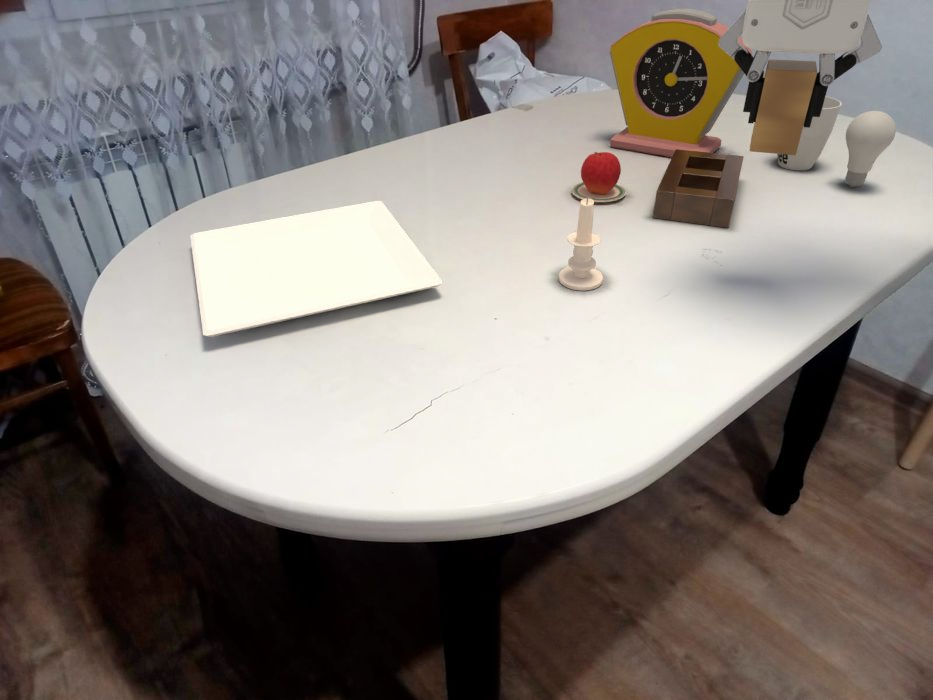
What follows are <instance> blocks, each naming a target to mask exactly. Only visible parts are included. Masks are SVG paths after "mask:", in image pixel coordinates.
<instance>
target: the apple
mask: <svg viewBox="0 0 933 700" xmlns="http://www.w3.org/2000/svg"><path fill="white" fill-rule="evenodd" d="M621 173H622V167H621V163H620V160H619V157H617V156H616V155H615V154H614V153H612V152H608V151H603V152H597V151H594V152H593V153H590V154H589V155H588V156H586V158H585V159H584V161H583V163H582V165H581V168H580V178H581V180H582V182H579V183H576V184H575V185H573V186H572V187H571V193H572V195H573V196H574V197H576V198H578V199H580V200H583V199H586V198H587V197H588V198H590V199H592V200H593V201H594V203H610V202H615V201H618V200H621V199H623V198H624V197H625V196H626V194H627V190H626V189H625V187H623V186H622V185H620V184H619V183H618V182H619V180H620V177H621Z"/></svg>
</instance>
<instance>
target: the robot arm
mask: <svg viewBox="0 0 933 700" xmlns="http://www.w3.org/2000/svg"><path fill="white" fill-rule="evenodd" d="M871 3H872V0H747V5H746V8H745V9H744V10H743V11H742V13H741V14H740V15H739V16H738V17H737V18H736V19H735V20H734V21H733V23H732V24H730V26H729V27H728V30H727V31H726V32H725V33H724V34H723V35H722V36H721V38H720V39H719V42H718V45H719V47H720V48H721V49H722V50H723V51H725V52H726V53H727V54H728V55H729V56H730V57H732V58H733V59H734V60H735V62H736V63H737V64H738V66H739V67H740V68H741V70H742V71H743V72H744V75H745V76H746V79H747V81H748V85H747V90H746V95H745V100H744V104H743V110H742V113H749V115H748V120H747V124H751V125H752V124H753V125H754V123H755V122H756V117H757V113H758V108H759V103H760V99H761V94H762V90H763V85H764V77H765V70H764V69H765V67H766V66H767V63H768V60H769V59H770V56H771V54H772V52H774V53H796V54H797V53H798V54H819V55H818V56H819V57H818V59H819V60H818V61H819V62H818V71H817V75H816V79H815V83H814V87H813V91H812V95H811V98H810V102H809V106H808V110H807V114H806V118H805V122H804V125H803V126H804V127H807V128H810V125H811V122H812V118H813V117H820V114H821V111H822V107H823V104H824V100H825V96H826V95H827V92H828V88H829V86H830V85H832V84H833V83H834V81H835V80H837V79H838V78H840V77H841V76H842V75H844V74H846V73H847V72H849V70H851V69H853V68H854V67H855V66H856V65H858V64H859V63H862V62H864V61H866V60H868V59H870V58H872V57H873V56H875V55H878V54H879V53H880V52H881V51H882V49H883V45H882V43H881V40H880V39H879V36H878V33H877V31H876V29H875V26H874V25H873V22H872V20H871V18H870V15H869V9H870V6H871ZM738 37H741V39H742V40H743V43H744V45H745V46H747V47H748V48H750V50H752V51H753V50H754V51H755V53H754V55H753V54H750V52H749V51H748V50H747V49H746V48H744V47H743V46H742V45H741V44H740V43H739V42H738ZM837 54H841V55H840V56H839V57H837V58H836V55H837Z"/></svg>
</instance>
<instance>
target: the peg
mask: <svg viewBox="0 0 933 700" xmlns="http://www.w3.org/2000/svg"><path fill="white" fill-rule="evenodd" d="M817 73H818V67H817V61H815V60H795V59H794V60H793V59H770V58H768V61H767V63H766V69H765V72H764V76H763V78H764V85H763V90H762V94H761V99H760V103H759V108H758V113H757V117H756V122H754V123H753V128H752V132H751V133H752V134H751V137H750V144H749V152H751V153H752V152H753V153H763V154H776V155H777V154H785V155H796V152H797V149H798V145H799V141H800V137H801V133H802V129H803V125H804V122H805V118H806V114H807V110H808V106H809V102H810V98H811V95H812V91H813V87H814V83H815V79H816V75H817Z"/></svg>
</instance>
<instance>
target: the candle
mask: <svg viewBox="0 0 933 700" xmlns="http://www.w3.org/2000/svg"><path fill="white" fill-rule="evenodd" d="M594 205H595V202H594V201H593V200H592V199H590V198H588V197H587V198H586V199H580V202H579V209H578V210H579V211H578V220H577V229H576V231H573V232H570V233H568V234H567V236H566V241H567V242H568V243H569V244H570V245H572V246H573V250H572V254H573V255H572V256H571V257H569V258H568V262H567V265H568V266H567V267H564V268H563V269H561V270H560V271H559V273H558V282H559V283H560V284H561V285H562V286H564V287H565V288H567V289H570V290H573V291H581V292H582V291H591V290H595V289H597V288H599V287H600V286H601V285H602V284H603V282H604V275H603V273H602V272H601V271H599V270H598V269H597V268H595V267H596V266H597V261H596V259H595V258H594V257H593V254H594V251H593V248H594V247H595V246H597V245H599V244H600V243H601V242H602V237H601V236H600V234H598V233H595V232H593V225H594V211H595V210H594V208H595V206H594Z"/></svg>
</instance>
